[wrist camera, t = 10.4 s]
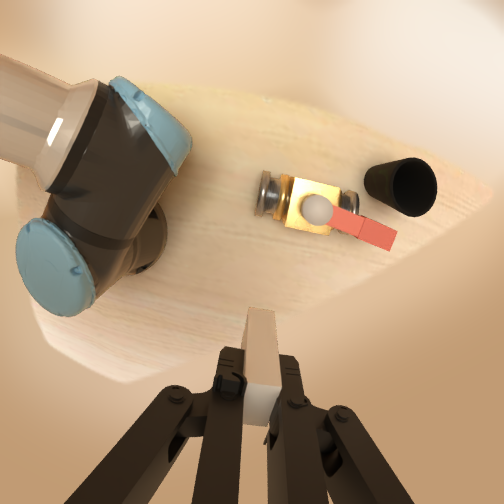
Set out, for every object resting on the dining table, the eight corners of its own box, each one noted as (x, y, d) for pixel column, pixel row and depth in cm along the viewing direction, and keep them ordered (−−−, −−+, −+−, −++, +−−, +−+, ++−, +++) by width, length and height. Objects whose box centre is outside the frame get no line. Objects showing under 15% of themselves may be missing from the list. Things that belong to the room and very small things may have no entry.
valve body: (254, 212, 44) (253, 223, 35) (263, 170, 42) (264, 170, 33) (339, 229, 45) (359, 245, 35) (348, 190, 43) (371, 196, 33)
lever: (296, 217, 34) (298, 219, 32) (306, 189, 33) (309, 190, 32) (382, 250, 35) (388, 254, 33) (392, 225, 34) (399, 228, 32)
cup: (402, 199, 43) (441, 210, 31) (363, 209, 44) (396, 223, 32) (392, 155, 41) (431, 153, 29) (353, 164, 42) (384, 163, 30)
